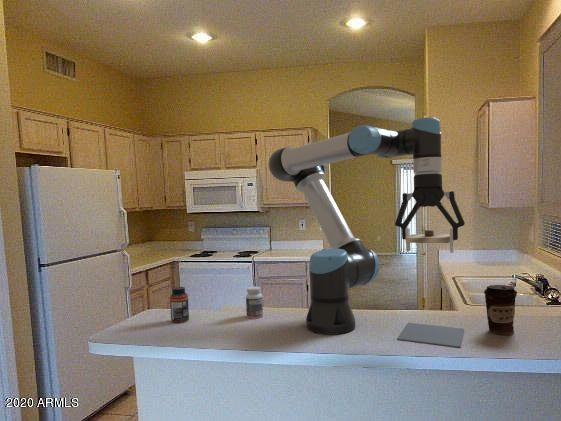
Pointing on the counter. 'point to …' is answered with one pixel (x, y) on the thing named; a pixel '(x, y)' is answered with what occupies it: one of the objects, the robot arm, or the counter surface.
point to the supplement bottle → (179, 305)
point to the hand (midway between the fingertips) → (429, 251)
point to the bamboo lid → (428, 238)
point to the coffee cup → (500, 308)
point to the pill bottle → (254, 302)
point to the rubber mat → (432, 334)
